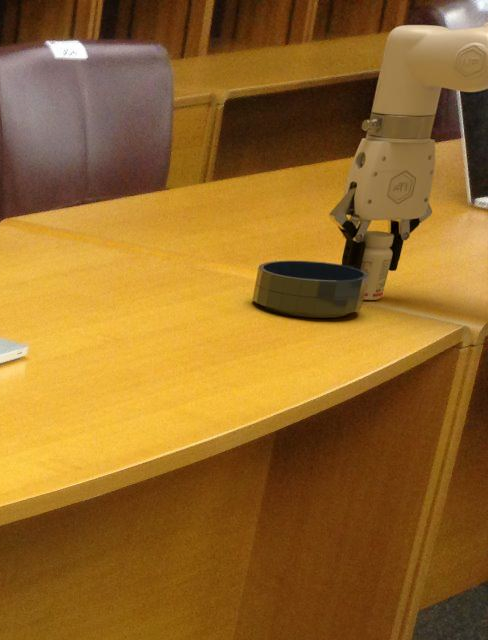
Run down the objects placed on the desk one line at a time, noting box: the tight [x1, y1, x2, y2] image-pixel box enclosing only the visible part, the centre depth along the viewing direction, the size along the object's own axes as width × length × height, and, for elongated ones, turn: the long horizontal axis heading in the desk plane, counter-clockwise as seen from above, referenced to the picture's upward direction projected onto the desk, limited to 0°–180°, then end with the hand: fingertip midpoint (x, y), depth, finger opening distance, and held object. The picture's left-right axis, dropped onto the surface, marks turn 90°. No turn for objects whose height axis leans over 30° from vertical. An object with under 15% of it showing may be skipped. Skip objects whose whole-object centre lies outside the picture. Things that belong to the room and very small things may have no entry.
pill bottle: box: [360, 230, 394, 301], centre depth 207 cm, size 5×5×8 cm
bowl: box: [252, 260, 368, 319], centre depth 201 cm, size 13×13×5 cm
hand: (368, 268), depth 207 cm, fingers closed on pill bottle, 4 cm apart
